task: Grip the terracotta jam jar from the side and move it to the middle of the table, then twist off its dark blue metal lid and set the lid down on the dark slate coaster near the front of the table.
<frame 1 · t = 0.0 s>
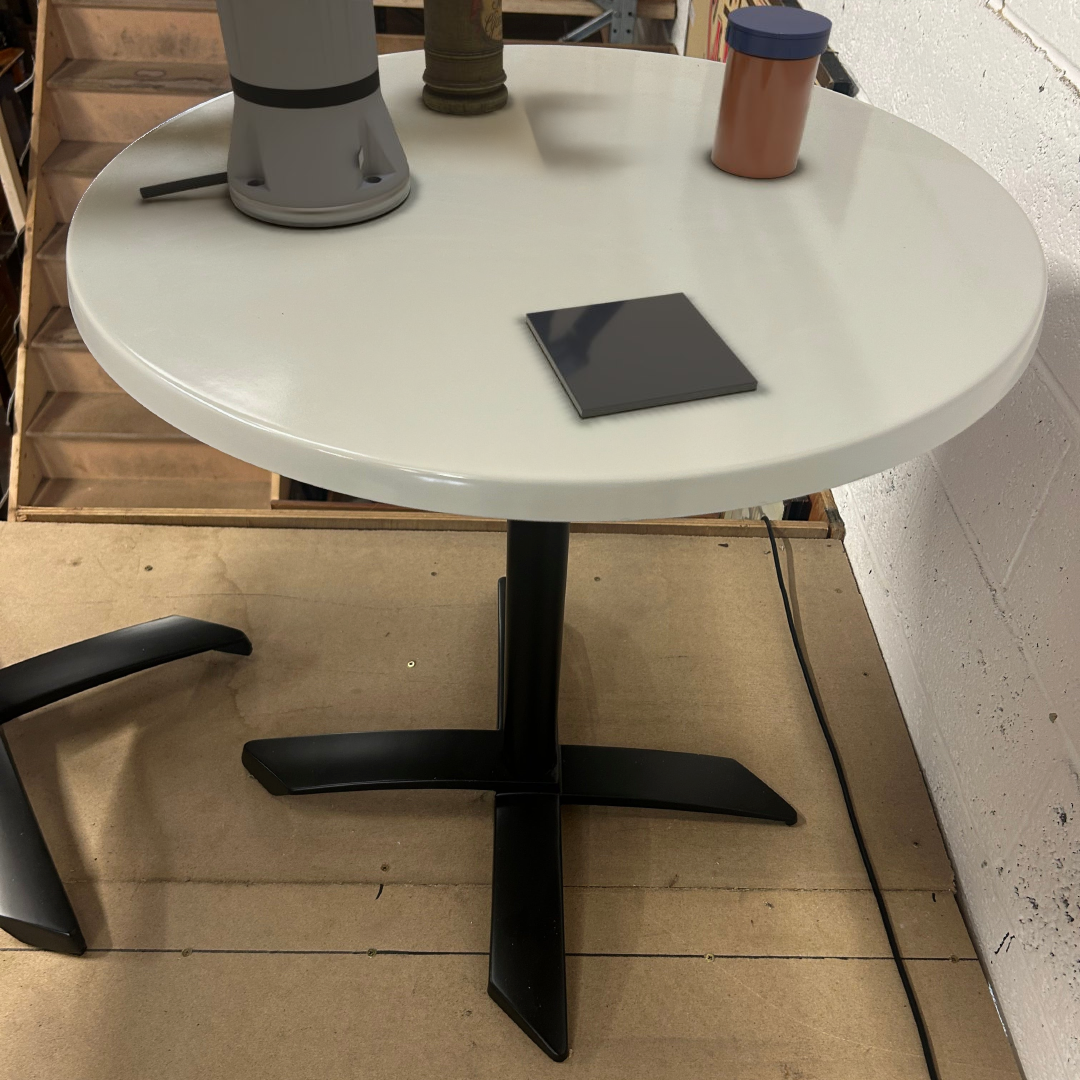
jar: (753, 161, 87), on the table
lid: (778, 24, 78), point 12 cm above the table, screwed on, not yet turned
coaster: (636, 353, 62), on the table
container: (465, 102, 97), on the table
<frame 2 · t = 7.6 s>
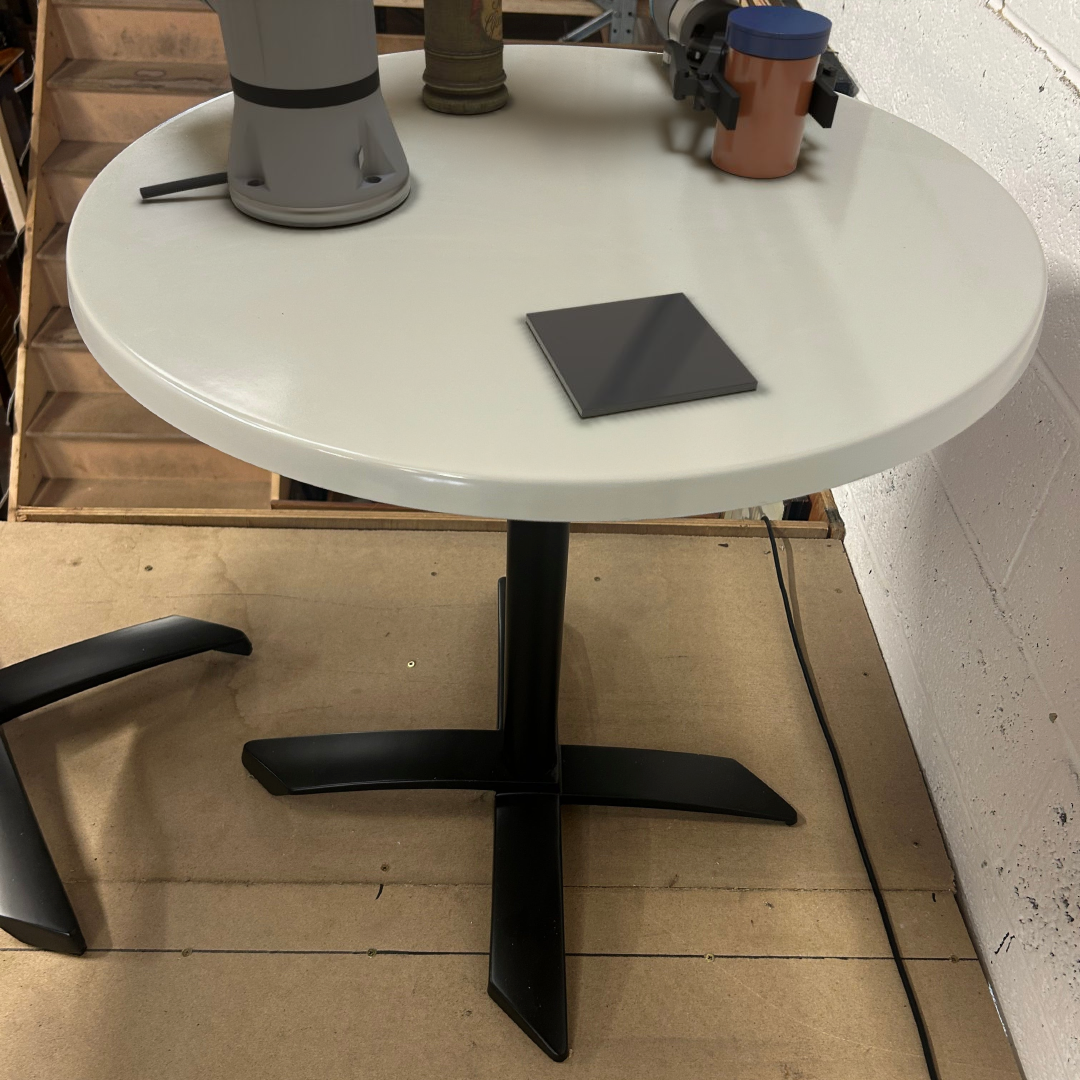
hand: (782, 113, 79), 6 cm above the table, tool horizontal, fingers closed on jar, 8 cm apart
jar: (753, 161, 87), on the table, touching gripper
everything else where it was.
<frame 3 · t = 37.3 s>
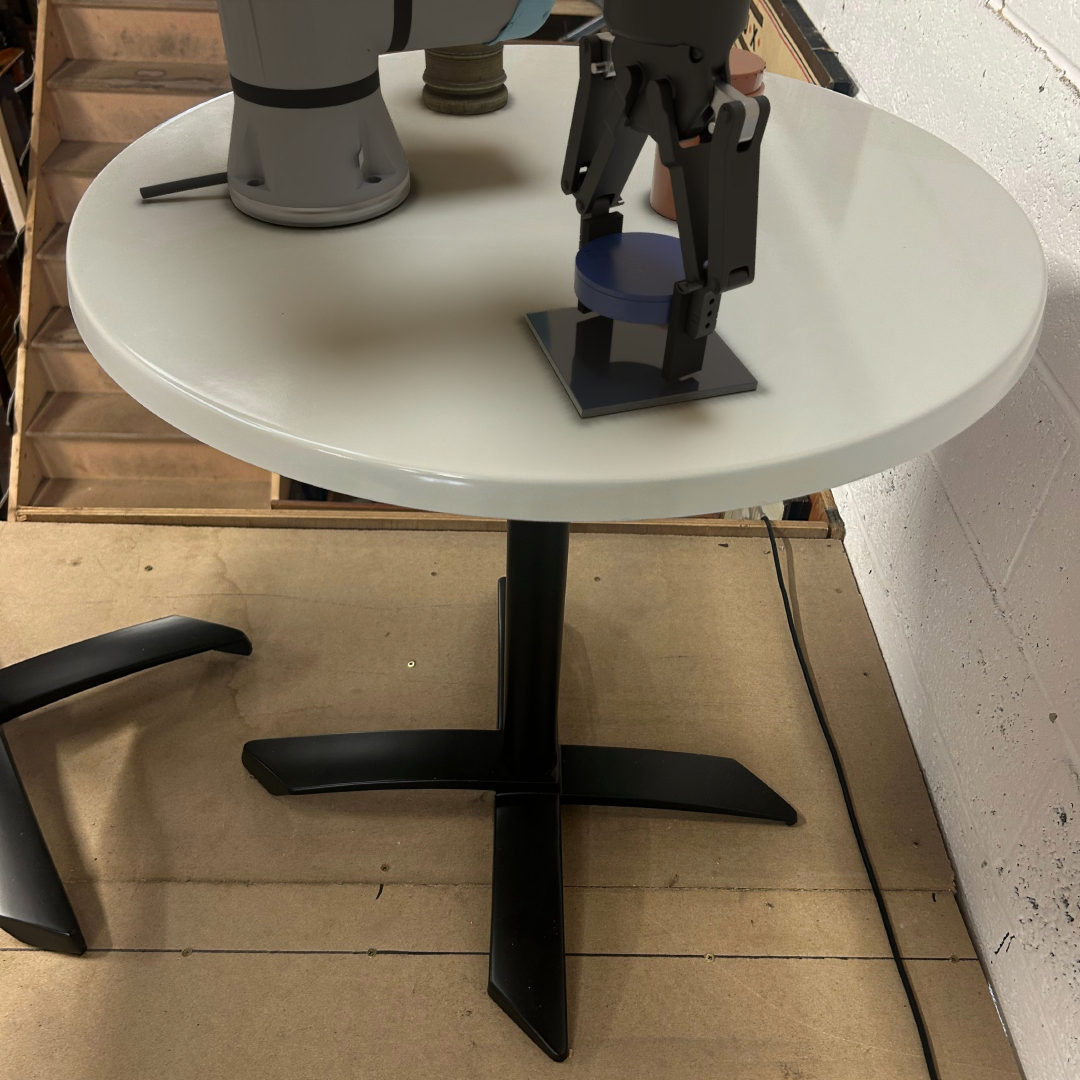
hand: (636, 338, 61), 1 cm above the table, tool pointing down, fingers closed on lid, 9 cm apart
jar: (695, 204, 79), on the table
lid: (644, 268, 57), point 6 cm above the table, off its thread, touching gripper
everything else where it was.
when the fingers open (3 cm above the table, at t = 49.3 s): lid drops 4 cm, resting on coaster.
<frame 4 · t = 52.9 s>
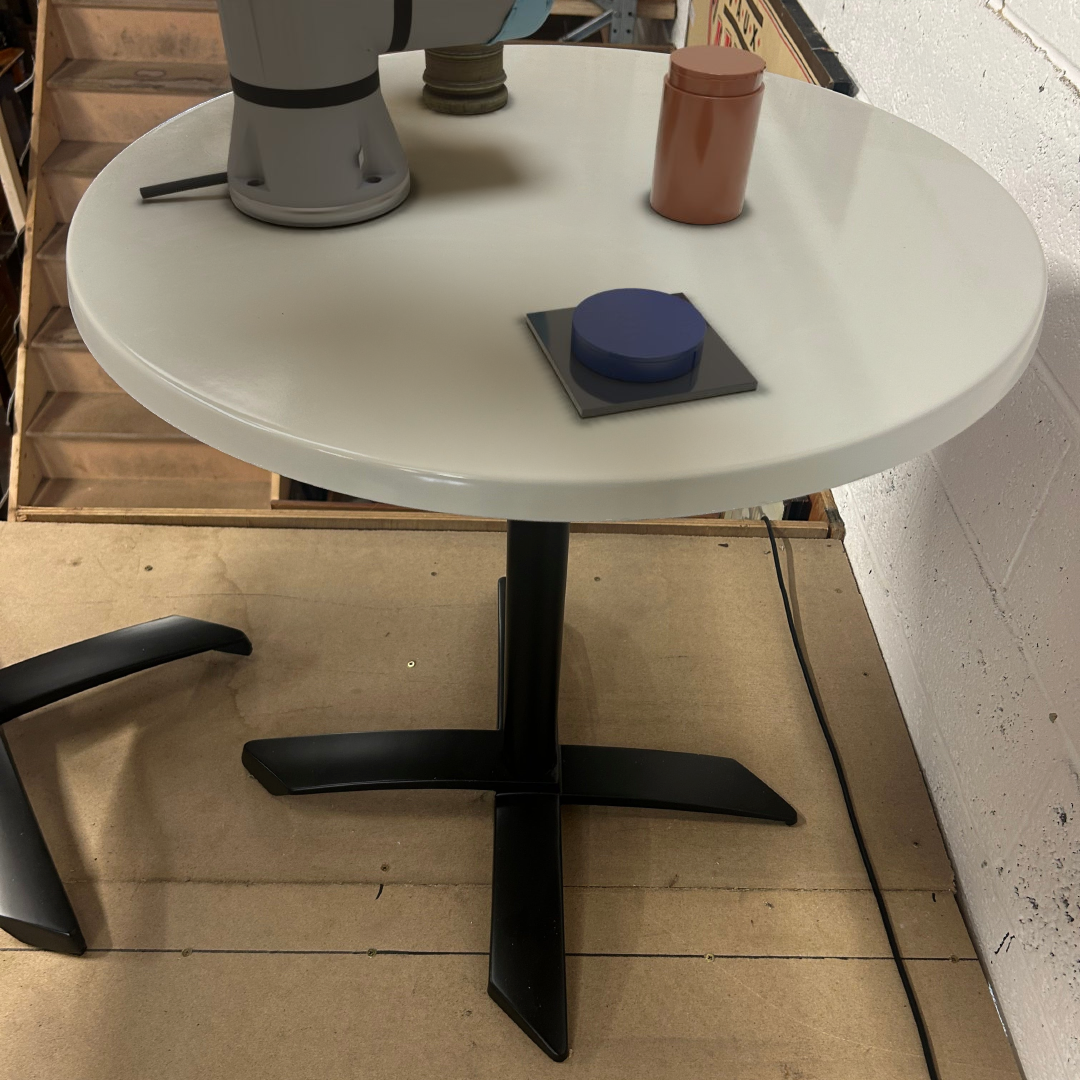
lid: (638, 326, 60), point 2 cm above the table, off its thread, touching coaster
everything else where it was.
at the end: lid inside the target area on the coaster (0.1 cm from its centre), point 2.1 cm above the coaster's base; the gripper is holding nothing; jar inside the target area (0.1 cm from its centre), on the table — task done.
